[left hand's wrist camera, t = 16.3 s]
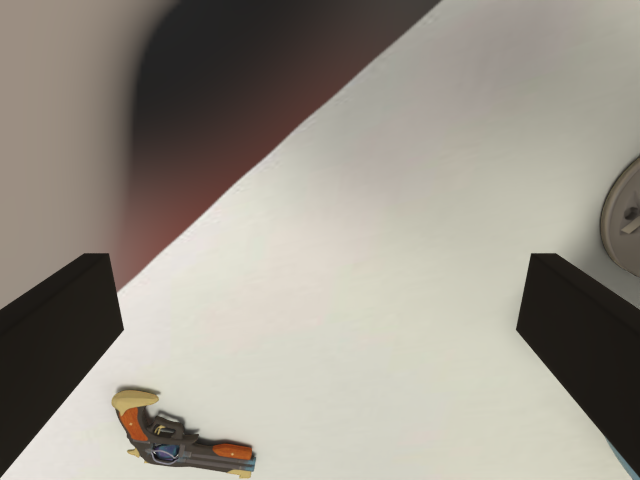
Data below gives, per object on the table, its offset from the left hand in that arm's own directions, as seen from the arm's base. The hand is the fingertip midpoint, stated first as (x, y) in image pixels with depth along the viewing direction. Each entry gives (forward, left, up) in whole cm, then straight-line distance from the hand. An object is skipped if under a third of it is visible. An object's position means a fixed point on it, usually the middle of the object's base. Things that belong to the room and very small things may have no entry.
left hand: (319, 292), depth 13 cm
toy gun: (+36, +15, -29) cm, 48 cm away
